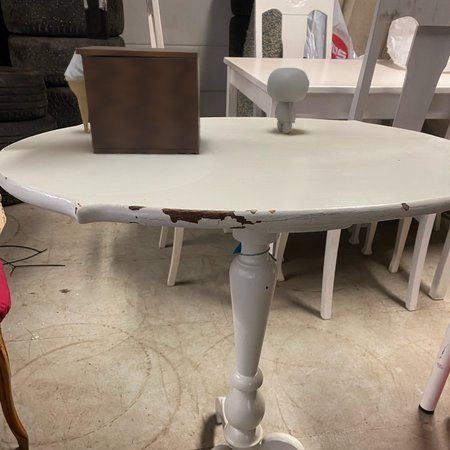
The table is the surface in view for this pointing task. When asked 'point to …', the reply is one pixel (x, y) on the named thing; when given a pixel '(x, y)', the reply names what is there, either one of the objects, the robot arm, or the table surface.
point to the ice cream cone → (78, 86)
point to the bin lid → (138, 51)
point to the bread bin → (143, 104)
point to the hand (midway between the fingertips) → (98, 39)
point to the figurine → (287, 94)
